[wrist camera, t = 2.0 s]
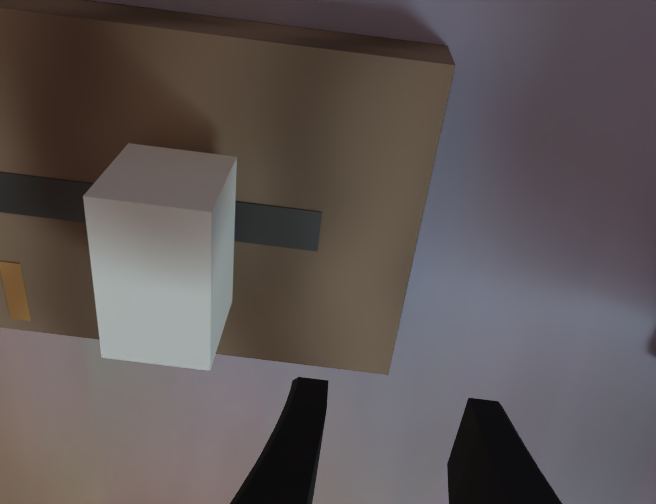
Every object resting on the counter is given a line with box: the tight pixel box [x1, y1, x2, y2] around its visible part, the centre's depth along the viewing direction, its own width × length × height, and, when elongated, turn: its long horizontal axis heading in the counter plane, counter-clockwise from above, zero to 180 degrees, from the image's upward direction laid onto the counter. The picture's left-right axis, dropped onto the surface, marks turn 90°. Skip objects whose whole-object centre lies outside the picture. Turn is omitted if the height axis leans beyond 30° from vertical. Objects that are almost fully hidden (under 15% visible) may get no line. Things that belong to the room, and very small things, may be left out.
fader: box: [83, 143, 237, 371], centre depth 17 cm, size 3×5×4 cm, turn 174°
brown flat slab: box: [0, 0, 455, 375], centre depth 20 cm, size 20×11×2 cm, turn 84°
